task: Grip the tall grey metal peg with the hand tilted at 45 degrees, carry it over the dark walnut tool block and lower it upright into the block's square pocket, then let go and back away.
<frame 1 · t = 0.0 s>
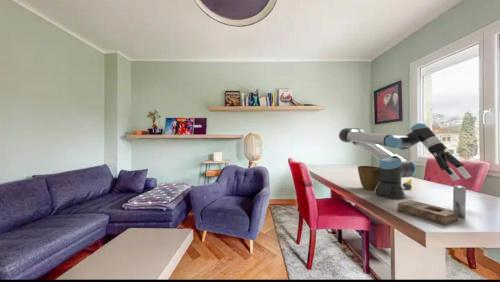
hand: (462, 179, 105), 15 cm above the table, fingers open, 13 cm apart
metal peg: (458, 216, 93), on the table
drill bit: (407, 189, 143), on the table
tool block: (426, 215, 93), on the table
plant pot: (369, 189, 141), on the table, touching arm
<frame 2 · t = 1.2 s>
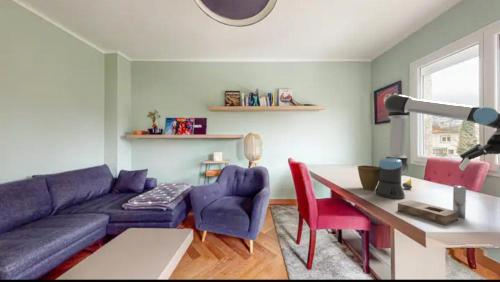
hand: (478, 170, 94), 21 cm above the table, fingers open, 13 cm apart
plant pot: (369, 189, 141), on the table
everything else where it was.
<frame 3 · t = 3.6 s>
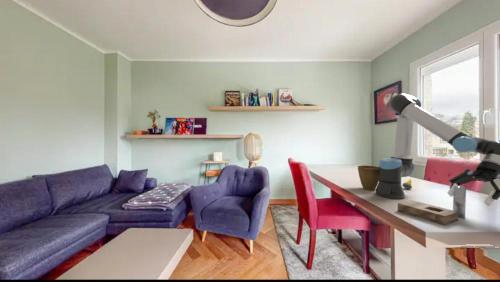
hand: (466, 198, 92), 8 cm above the table, fingers open, 13 cm apart
nothing on the table moved.
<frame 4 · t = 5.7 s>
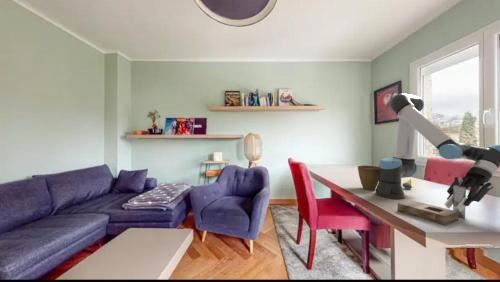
hand: (452, 207, 92), 4 cm above the table, fingers closed on metal peg, 4 cm apart
metal peg: (458, 216, 93), on the table, touching gripper
everything else where it was.
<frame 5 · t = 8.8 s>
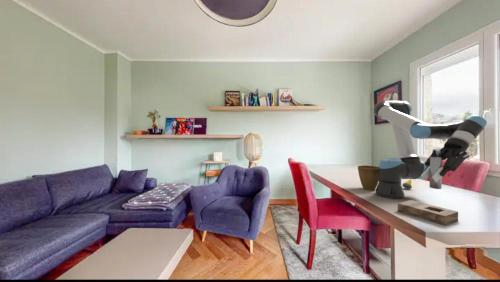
hand: (428, 178, 90), 18 cm above the table, fingers closed on metal peg, 4 cm apart
metal peg: (435, 187, 90), point 14 cm above the table, touching gripper
everything else where it was.
when the fingers open (6 cm above the table, at t = 11.9 s): metal peg stays where it is, resting on tool block.
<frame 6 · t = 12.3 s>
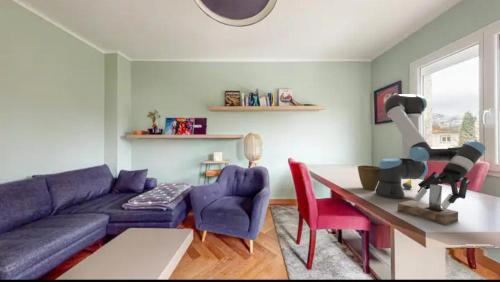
hand: (429, 202, 90), 7 cm above the table, fingers open, 10 cm apart
metal peg: (434, 215, 91), point 1 cm above the table, touching tool block
everything else where it was.
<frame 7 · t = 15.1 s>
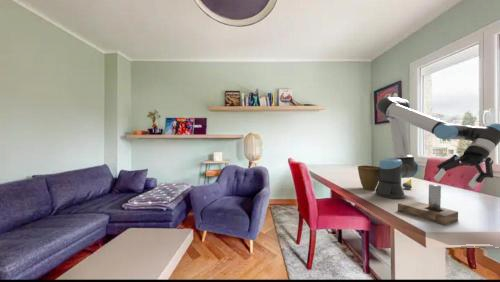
hand: (451, 183, 92), 16 cm above the table, fingers open, 13 cm apart
nothing on the table moved.
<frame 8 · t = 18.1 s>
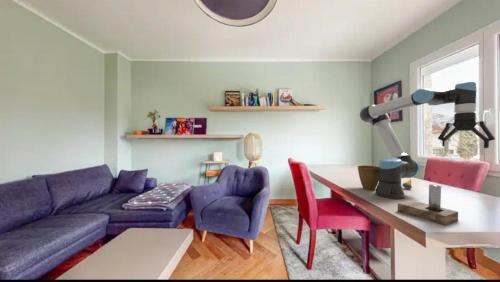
hand: (463, 153, 103), 29 cm above the table, fingers open, 13 cm apart
nothing on the table moved.
at the end: metal peg 0.0 cm from the target spot on the tool block, point 1.0 cm above the tool block's base; metal peg tilted 1°; the gripper is holding nothing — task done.
